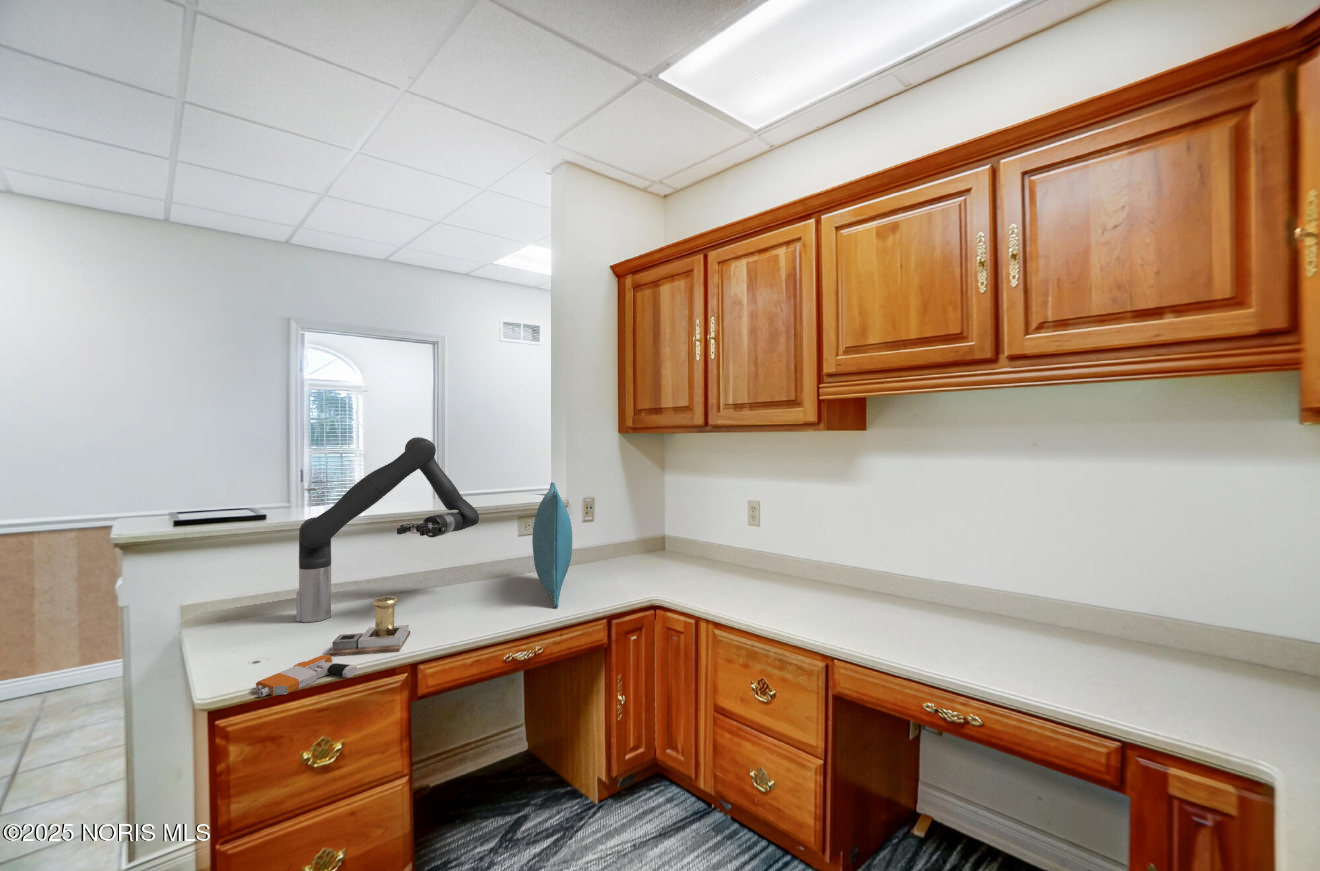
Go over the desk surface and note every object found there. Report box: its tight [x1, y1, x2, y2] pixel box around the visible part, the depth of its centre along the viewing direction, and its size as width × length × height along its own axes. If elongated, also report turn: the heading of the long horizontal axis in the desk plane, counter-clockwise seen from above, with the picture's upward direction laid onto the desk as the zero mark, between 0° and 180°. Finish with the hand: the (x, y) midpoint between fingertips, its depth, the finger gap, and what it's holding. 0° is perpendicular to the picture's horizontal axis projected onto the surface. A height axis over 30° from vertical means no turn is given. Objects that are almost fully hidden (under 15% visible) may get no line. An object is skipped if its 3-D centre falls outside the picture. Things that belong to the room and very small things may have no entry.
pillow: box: [531, 481, 573, 609], centre depth 224 cm, size 43×15×42 cm, turn 12°
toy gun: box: [255, 654, 358, 698], centre depth 142 cm, size 3×19×15 cm
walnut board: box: [328, 630, 411, 657], centre depth 168 cm, size 18×15×1 cm
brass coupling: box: [372, 595, 398, 637], centre depth 169 cm, size 6×6×12 cm
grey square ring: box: [331, 632, 364, 651], centre depth 164 cm, size 6×6×2 cm
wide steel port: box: [358, 624, 410, 649], centre depth 168 cm, size 11×11×2 cm
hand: (409, 531), depth 189 cm, fingers open, 8 cm apart
